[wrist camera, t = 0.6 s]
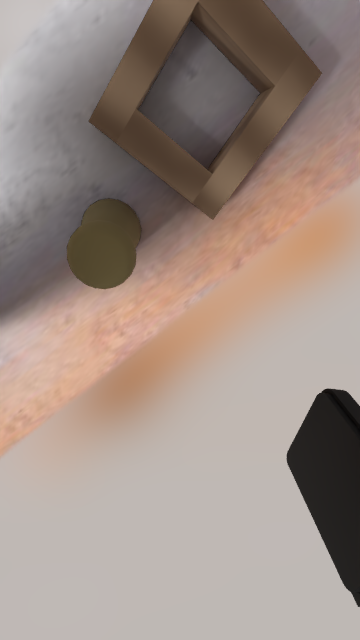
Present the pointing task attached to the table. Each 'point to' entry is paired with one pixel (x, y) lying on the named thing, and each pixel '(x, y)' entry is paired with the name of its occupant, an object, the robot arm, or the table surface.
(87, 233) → the cork
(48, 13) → the table surface
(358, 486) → the robot arm
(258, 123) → the socket block
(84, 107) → the table surface
